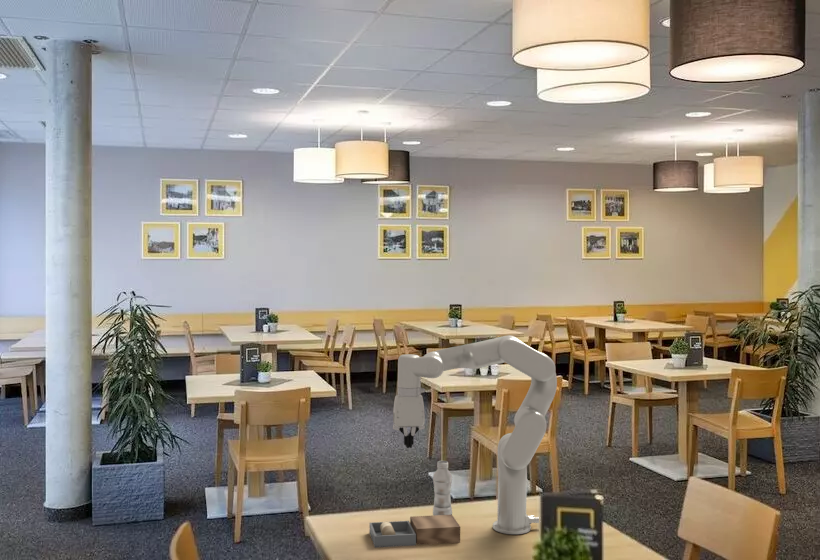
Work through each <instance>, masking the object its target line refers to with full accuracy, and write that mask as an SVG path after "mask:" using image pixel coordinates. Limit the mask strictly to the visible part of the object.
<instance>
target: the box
mask: <svg viewBox="0 0 820 560" xmlns="http://www.w3.org/2000/svg"><path fill="white" fill-rule="evenodd" d="M383 522H384V521H379V522H378V521H377V522H369V536H370V538H371V541H373V542H372V545H373V547H374V548H375V549H376V548H391V547H392V548H393V547H394V548H395V547H410V546H417V544H416V533H415V531H414V530H413V528H412V526H411V524H410V520H400V521H399V520H398V521H396V520H395V521H393V520H392V521H389V522H390V523H391V525H392V527H393V529H394V531H395V533H396V535H382V533H381V531H380V525H381V524H382V523H383Z"/></svg>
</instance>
